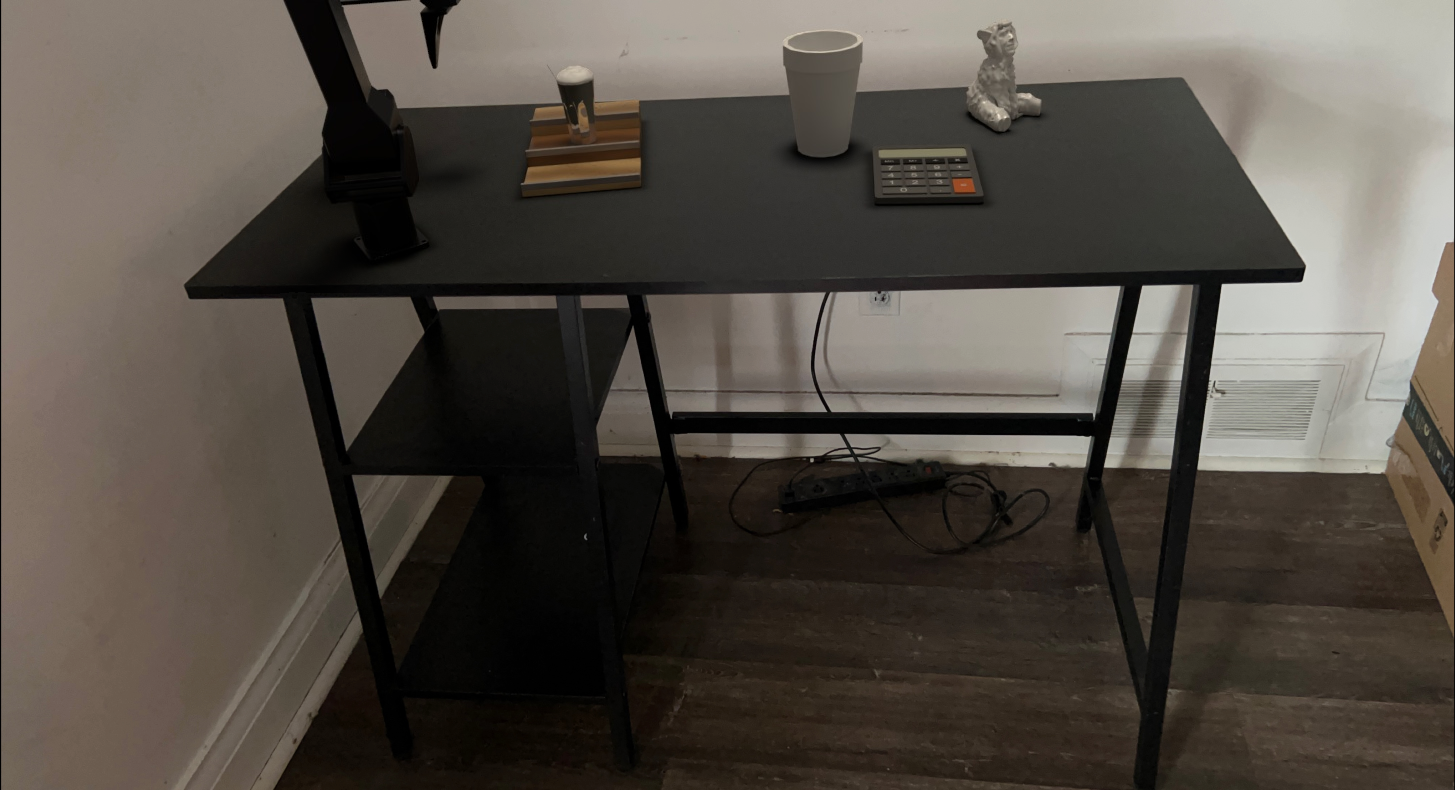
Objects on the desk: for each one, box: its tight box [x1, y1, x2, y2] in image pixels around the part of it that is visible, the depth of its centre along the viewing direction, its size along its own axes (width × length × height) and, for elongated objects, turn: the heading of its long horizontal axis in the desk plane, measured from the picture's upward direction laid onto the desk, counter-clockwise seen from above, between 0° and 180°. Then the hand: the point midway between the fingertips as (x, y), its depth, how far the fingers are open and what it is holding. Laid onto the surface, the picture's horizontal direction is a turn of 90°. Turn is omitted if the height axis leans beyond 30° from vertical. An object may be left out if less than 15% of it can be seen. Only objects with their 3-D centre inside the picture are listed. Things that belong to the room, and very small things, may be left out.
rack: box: [520, 99, 643, 198], centre depth 120 cm, size 22×14×4 cm, turn 4°
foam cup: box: [782, 29, 864, 158], centre depth 116 cm, size 10×9×13 cm
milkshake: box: [546, 64, 597, 145], centre depth 118 cm, size 4×5×10 cm
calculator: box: [872, 143, 985, 205], centre depth 110 cm, size 12×1×15 cm
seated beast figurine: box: [965, 18, 1043, 133], centre depth 121 cm, size 10×9×12 cm
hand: (396, 71), depth 113 cm, fingers open, 9 cm apart
